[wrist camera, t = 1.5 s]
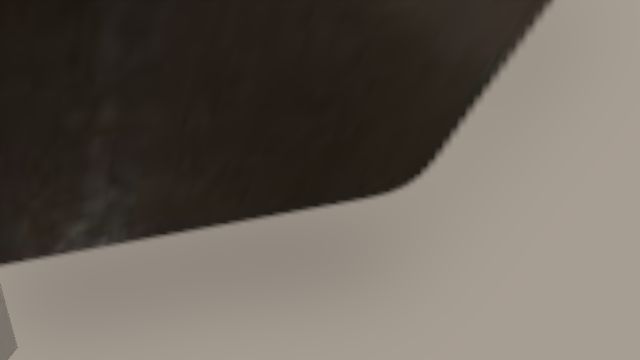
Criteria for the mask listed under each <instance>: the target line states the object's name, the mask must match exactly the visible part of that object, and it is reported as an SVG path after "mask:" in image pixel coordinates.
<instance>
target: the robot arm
mask: <svg viewBox="0 0 640 360" xmlns="http://www.w3.org/2000/svg"><path fill="white" fill-rule="evenodd" d="M16 349H17V344H16V341H15V337H14V333H13V329H12V325H11V322H10V318H9V314H8V311H7V307H6V304H5V300H4V296H3V293H2V289H1V285H0V360H8V359H9V357H10V356H11V355H12V354H13V353H14V351H15V350H16Z"/></svg>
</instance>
